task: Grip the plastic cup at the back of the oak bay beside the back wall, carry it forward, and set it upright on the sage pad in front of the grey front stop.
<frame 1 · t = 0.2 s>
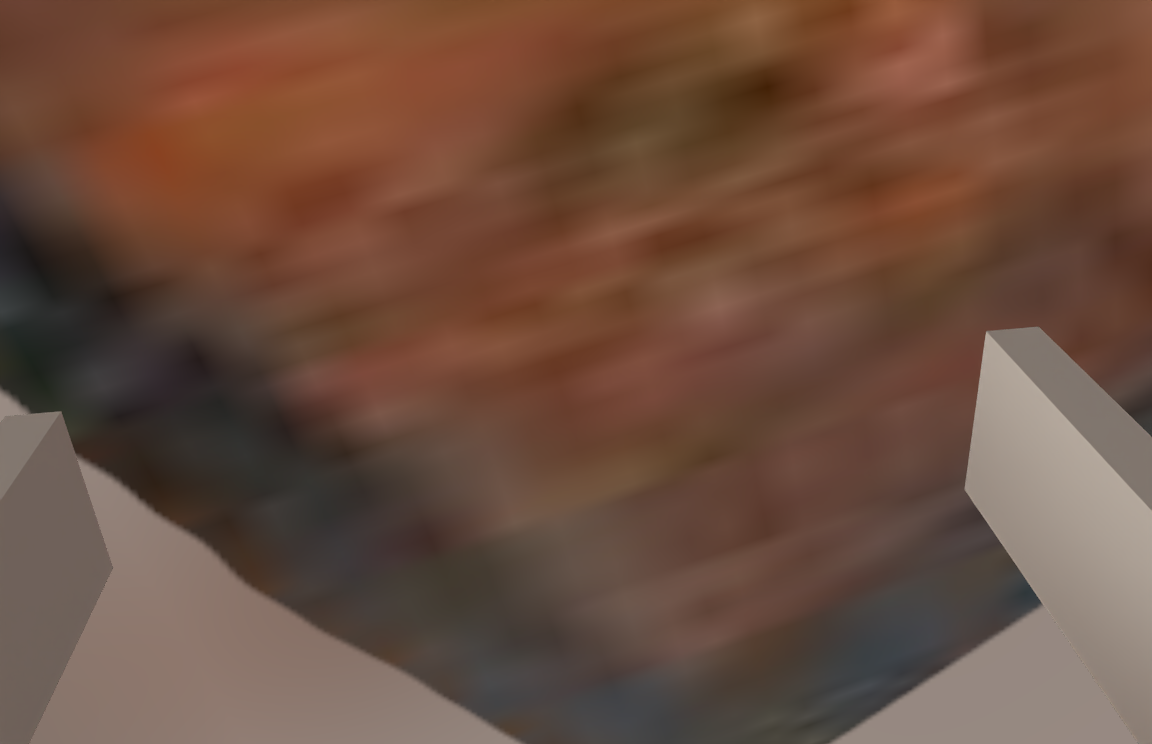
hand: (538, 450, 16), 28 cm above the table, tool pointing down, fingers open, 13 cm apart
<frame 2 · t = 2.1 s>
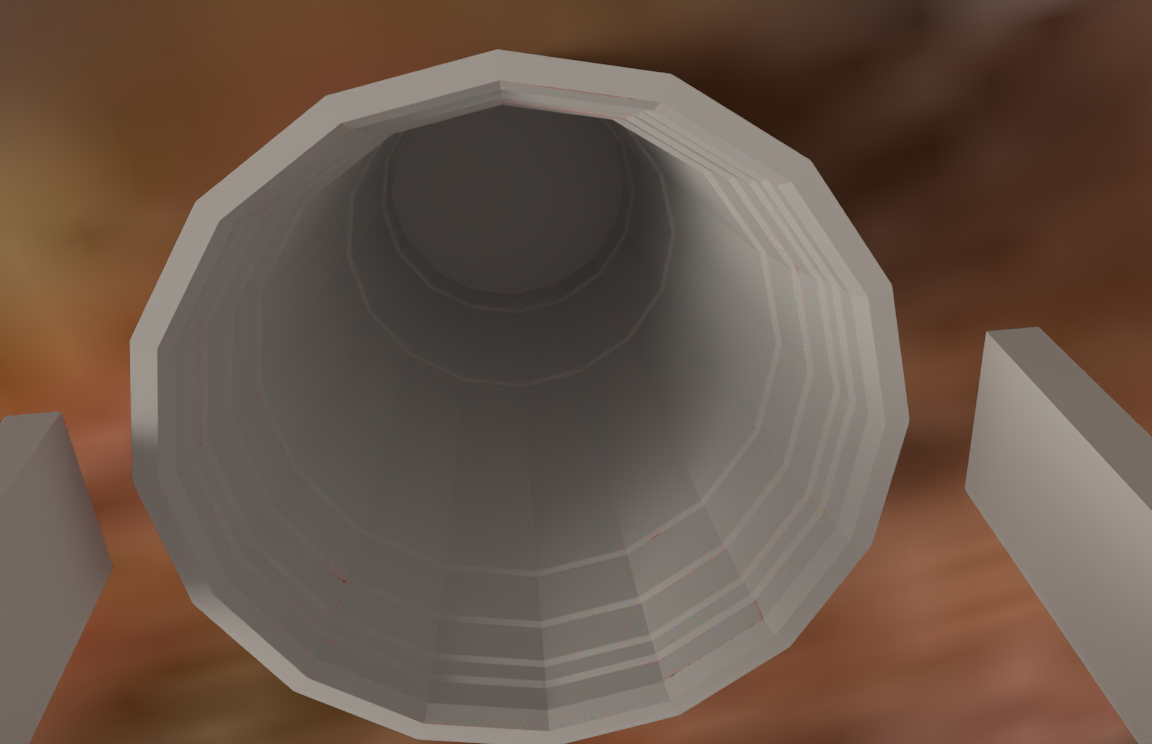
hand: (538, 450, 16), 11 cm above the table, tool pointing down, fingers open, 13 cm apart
plastic cup: (507, 174, 25), on the table
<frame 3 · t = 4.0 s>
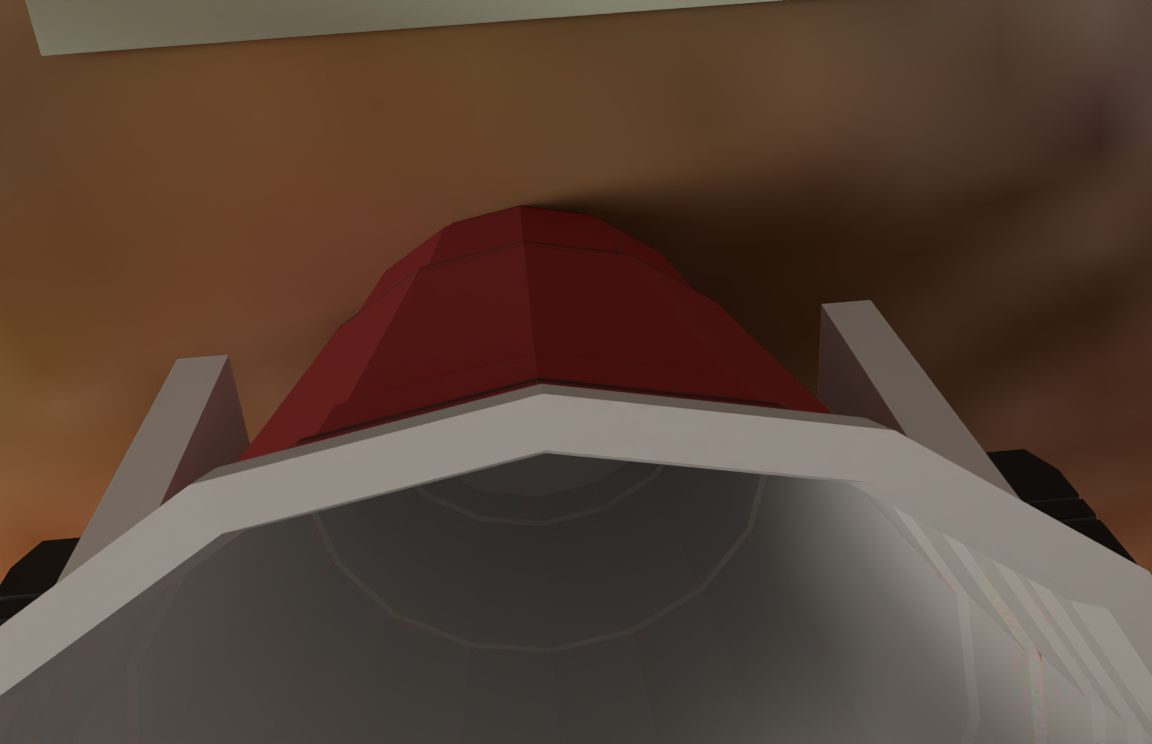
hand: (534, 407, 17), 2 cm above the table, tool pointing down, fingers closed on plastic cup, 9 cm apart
plastic cup: (529, 344, 19), on the table, touching gripper
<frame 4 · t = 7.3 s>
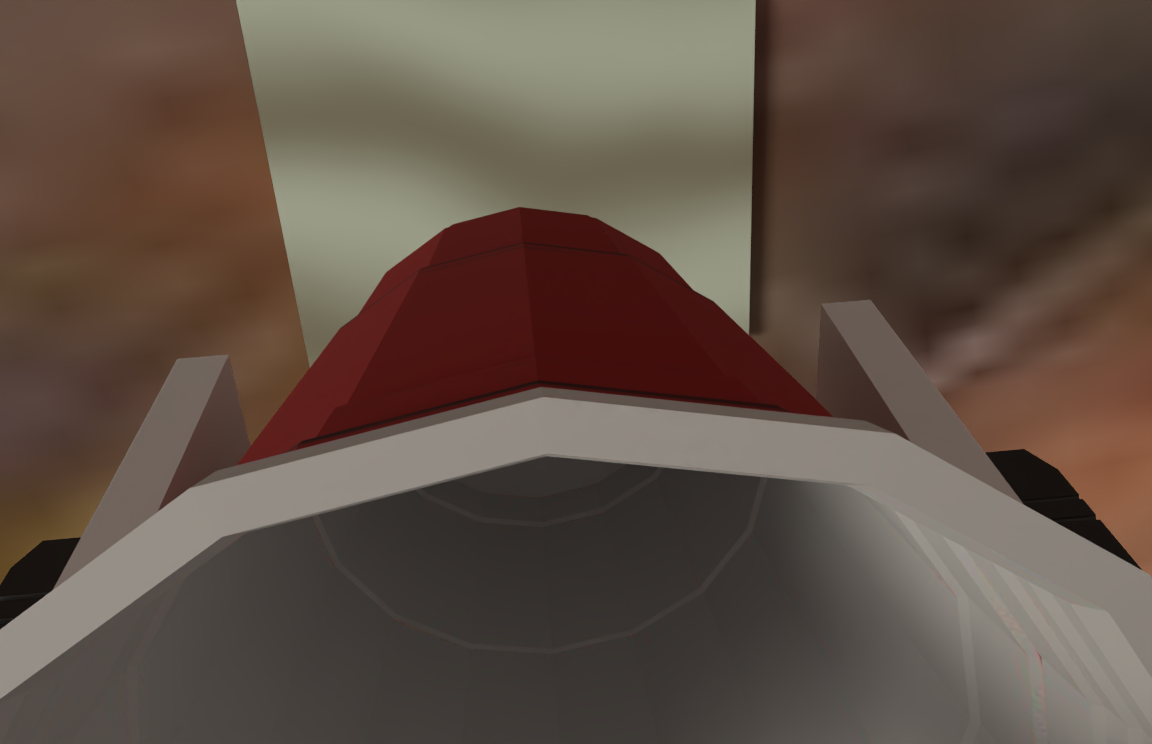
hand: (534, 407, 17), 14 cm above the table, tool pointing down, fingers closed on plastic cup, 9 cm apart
plastic cup: (529, 345, 19), point 12 cm above the table, touching gripper
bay: (530, 337, 32), on the table
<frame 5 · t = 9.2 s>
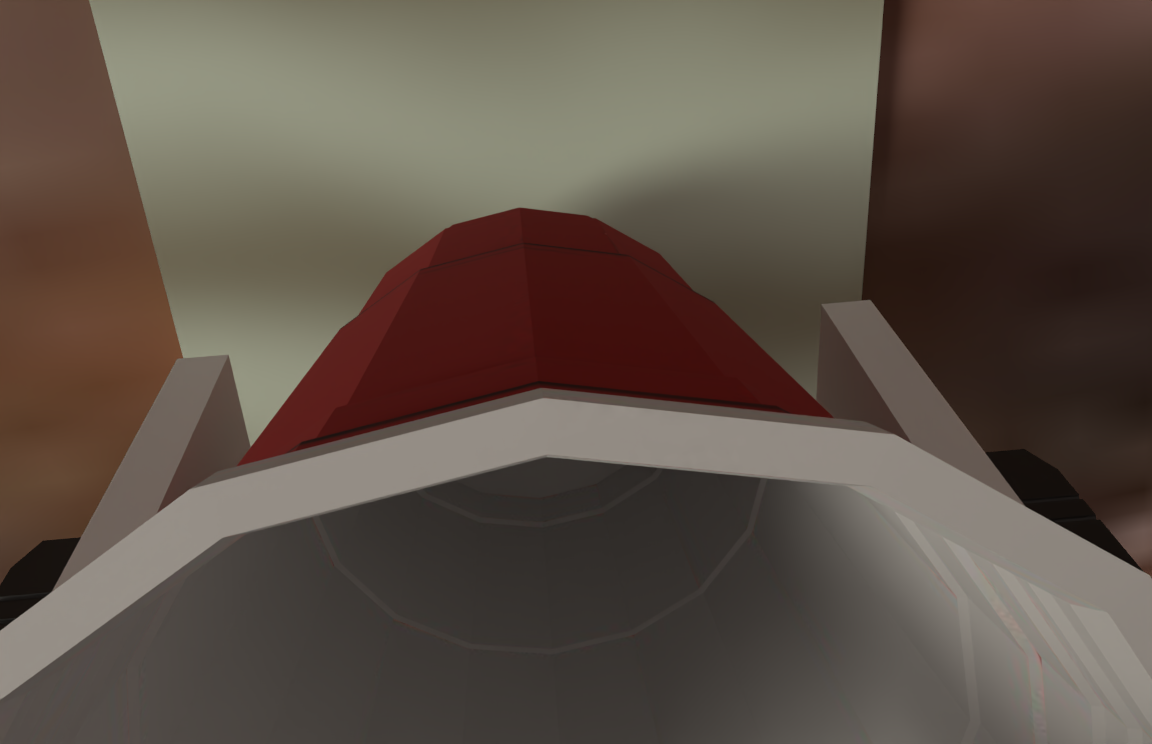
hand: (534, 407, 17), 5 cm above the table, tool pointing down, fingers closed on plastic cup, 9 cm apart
plastic cup: (529, 345, 19), point 2 cm above the table, touching gripper
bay: (545, 537, 24), on the table
when the fingers open (3 cm above the table, at t = 10.8 s): plastic cup stays where it is, resting on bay.
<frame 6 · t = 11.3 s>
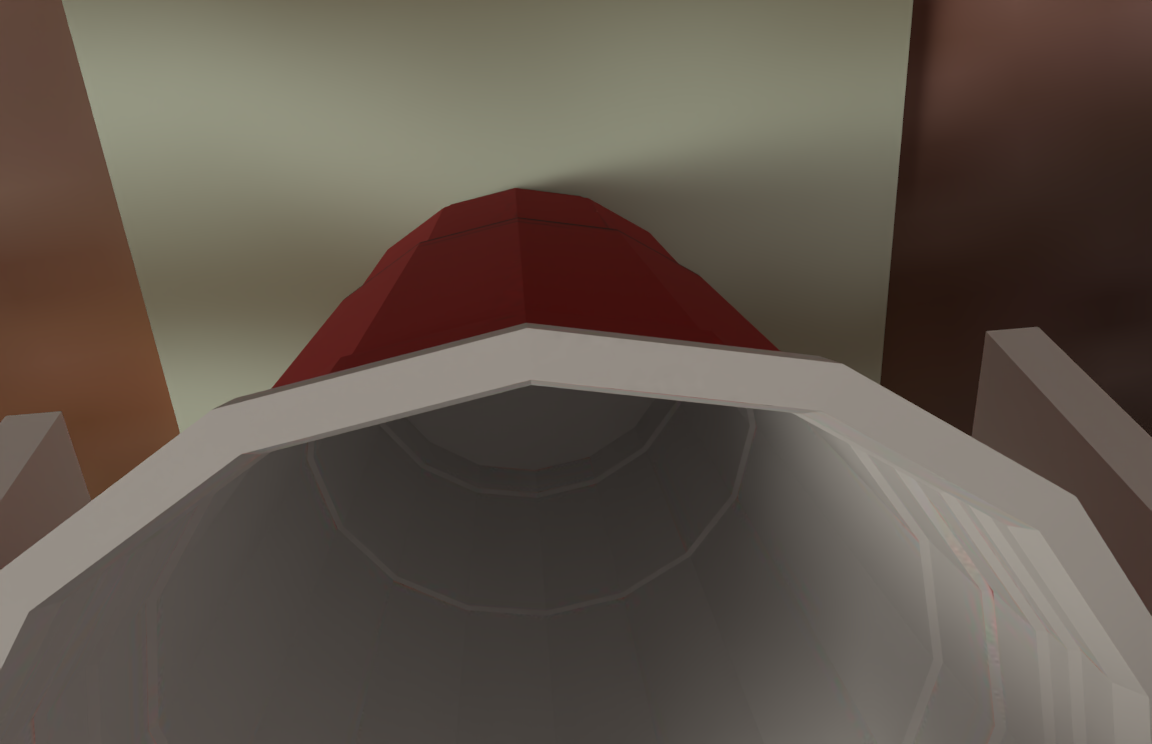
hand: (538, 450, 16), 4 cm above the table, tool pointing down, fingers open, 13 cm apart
plastic cup: (524, 322, 19), resting on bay
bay: (550, 577, 23), on the table
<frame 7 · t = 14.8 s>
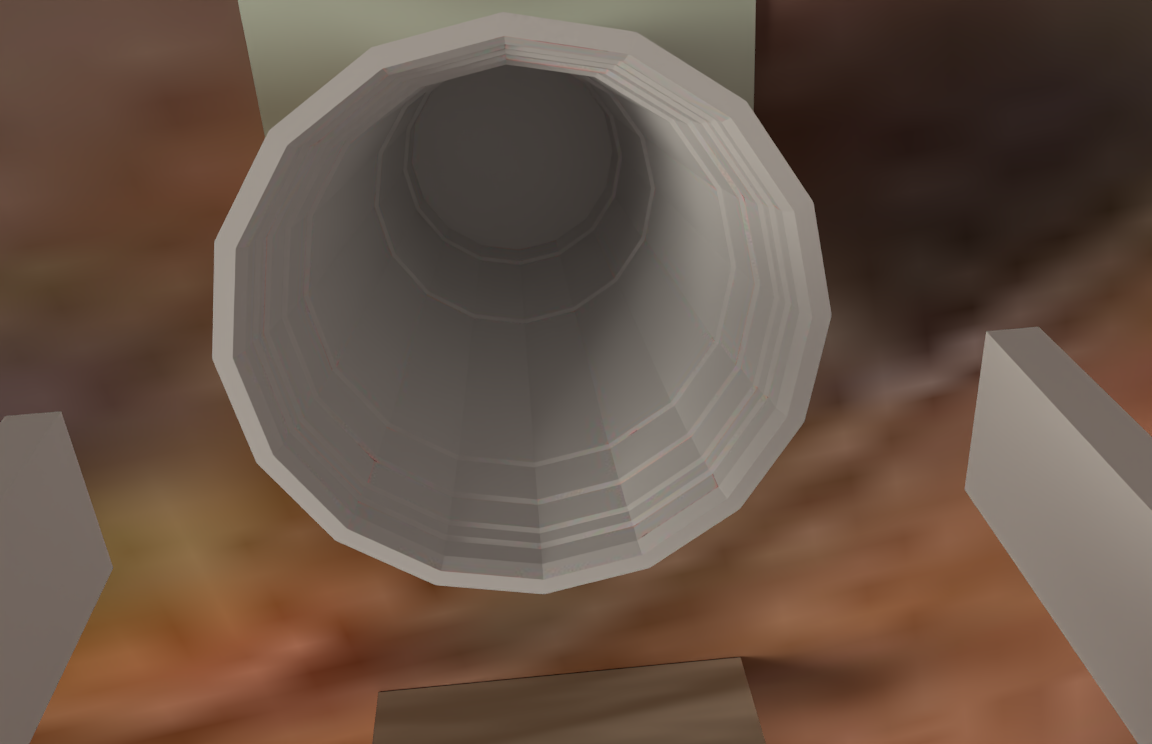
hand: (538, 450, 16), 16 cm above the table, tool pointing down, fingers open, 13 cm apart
plastic cup: (511, 143, 29), resting on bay
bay: (530, 338, 32), on the table
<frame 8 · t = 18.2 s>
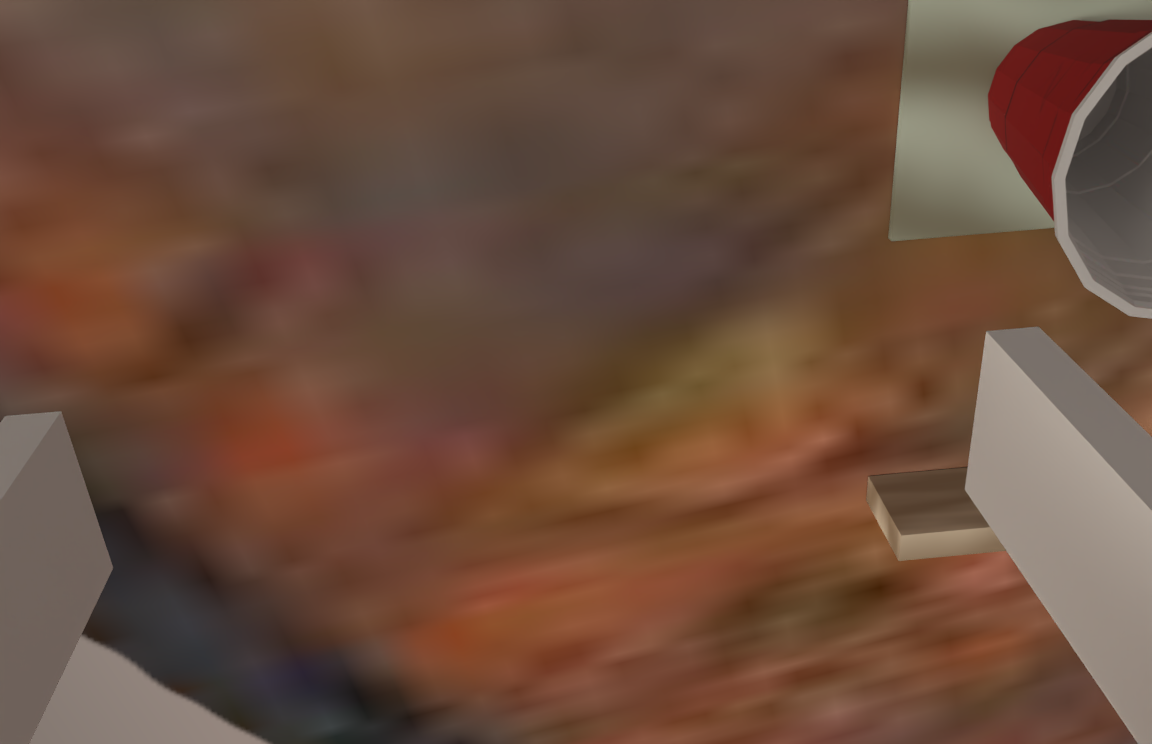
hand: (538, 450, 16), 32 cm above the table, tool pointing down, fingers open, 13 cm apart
plastic cup: (1051, 84, 46), resting on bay
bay: (1030, 215, 49), on the table
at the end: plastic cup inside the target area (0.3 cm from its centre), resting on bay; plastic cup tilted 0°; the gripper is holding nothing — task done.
